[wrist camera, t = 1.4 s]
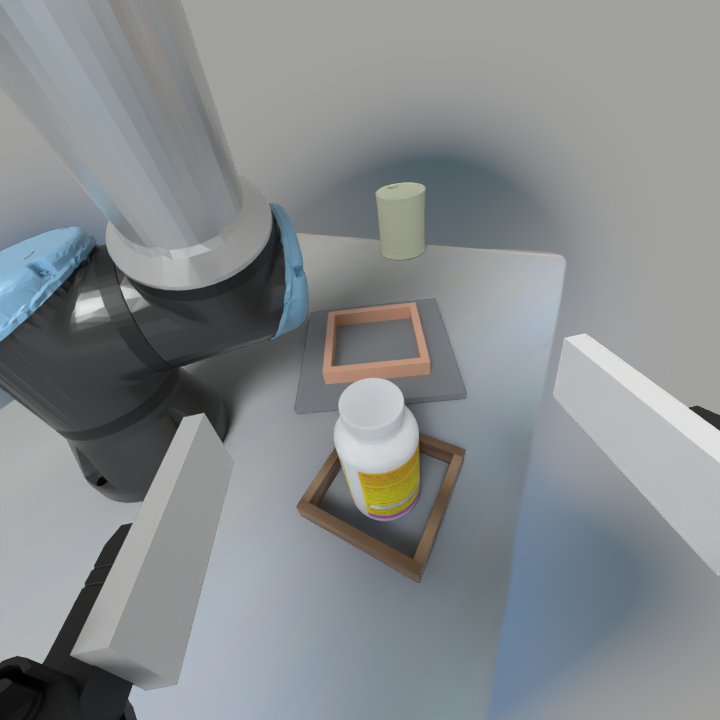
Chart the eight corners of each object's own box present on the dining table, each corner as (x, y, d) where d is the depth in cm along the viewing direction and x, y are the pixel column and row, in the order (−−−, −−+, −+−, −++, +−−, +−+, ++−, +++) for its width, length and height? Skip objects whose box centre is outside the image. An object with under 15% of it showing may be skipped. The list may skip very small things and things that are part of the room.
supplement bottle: (434, 485, 31) (439, 396, 23) (387, 540, 28) (372, 462, 20) (382, 445, 35) (370, 356, 27) (336, 490, 32) (305, 406, 24)
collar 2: (419, 583, 26) (419, 575, 25) (301, 515, 31) (296, 506, 30) (463, 461, 33) (465, 450, 32) (361, 422, 38) (359, 411, 37)
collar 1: (430, 374, 41) (430, 362, 39) (325, 384, 42) (322, 373, 40) (415, 313, 50) (415, 302, 49) (330, 322, 51) (328, 312, 50)
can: (407, 236, 73) (405, 176, 65) (434, 249, 67) (436, 185, 59) (372, 250, 71) (365, 189, 63) (397, 265, 64) (393, 199, 56)
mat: (465, 398, 39) (466, 392, 38) (296, 414, 40) (294, 408, 39) (434, 303, 53) (434, 298, 53) (312, 317, 55) (310, 312, 54)
